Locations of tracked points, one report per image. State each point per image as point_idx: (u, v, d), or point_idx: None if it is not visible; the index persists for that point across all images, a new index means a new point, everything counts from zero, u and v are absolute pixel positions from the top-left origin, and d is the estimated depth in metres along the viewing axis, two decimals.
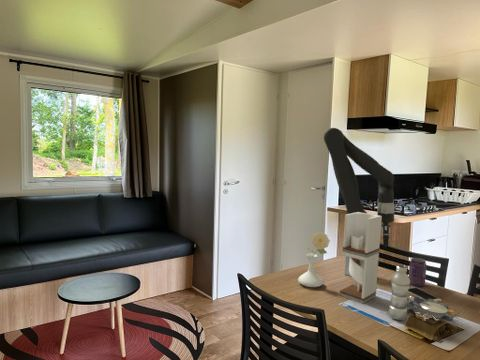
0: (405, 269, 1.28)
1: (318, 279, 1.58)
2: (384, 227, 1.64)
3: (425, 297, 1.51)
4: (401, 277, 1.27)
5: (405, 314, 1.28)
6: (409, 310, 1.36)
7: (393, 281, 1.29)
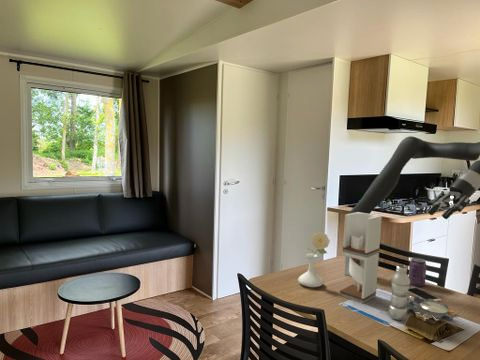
0: (405, 269, 1.28)
1: (318, 279, 1.58)
2: (466, 197, 1.25)
3: (425, 297, 1.51)
4: (401, 277, 1.27)
5: (405, 314, 1.28)
6: (409, 310, 1.36)
7: (393, 281, 1.29)
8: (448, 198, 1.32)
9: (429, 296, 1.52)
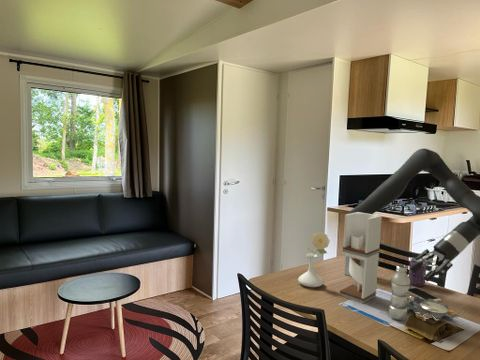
0: (405, 269, 1.28)
1: (318, 279, 1.58)
2: (448, 262, 1.23)
3: (425, 297, 1.51)
4: (401, 277, 1.27)
5: (405, 314, 1.28)
6: (409, 310, 1.36)
7: (393, 281, 1.29)
8: (431, 258, 1.30)
9: (429, 296, 1.52)
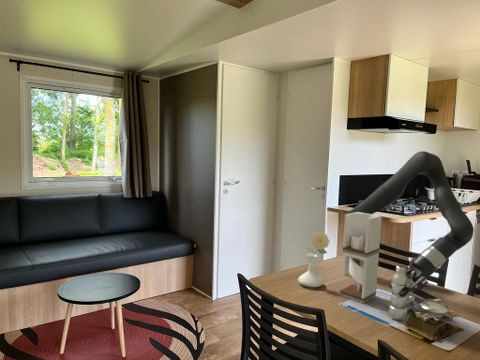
0: (405, 269, 1.28)
1: (318, 279, 1.58)
2: (424, 279, 1.23)
3: (425, 297, 1.51)
4: (401, 277, 1.27)
5: (405, 314, 1.28)
6: (409, 310, 1.36)
7: (393, 281, 1.29)
8: (409, 274, 1.30)
9: (429, 296, 1.52)
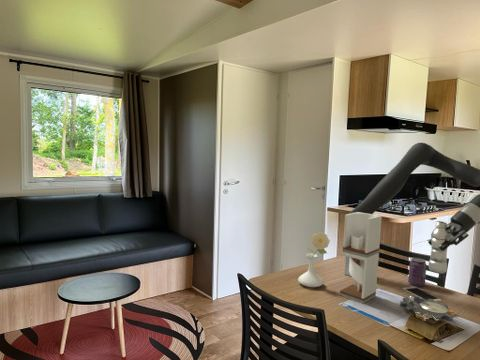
0: (445, 224, 1.33)
1: (318, 279, 1.58)
2: (464, 232, 1.29)
3: (425, 297, 1.51)
4: (441, 231, 1.33)
5: (445, 267, 1.34)
6: (409, 310, 1.36)
7: (433, 236, 1.35)
8: (448, 229, 1.36)
9: (429, 296, 1.52)
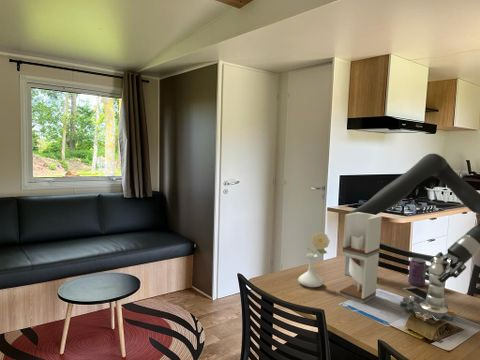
0: (442, 260, 1.35)
1: (318, 279, 1.58)
2: (462, 264, 1.30)
3: (425, 297, 1.51)
4: (439, 267, 1.34)
5: (443, 303, 1.35)
6: (409, 310, 1.36)
7: (431, 271, 1.36)
8: (445, 261, 1.37)
9: None
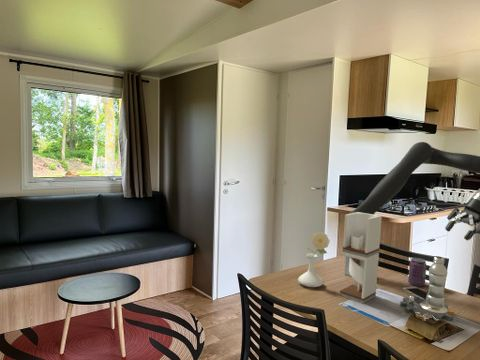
0: (443, 260, 1.34)
1: (318, 279, 1.58)
2: None
3: (424, 297, 1.51)
4: (439, 267, 1.34)
5: (443, 303, 1.35)
6: (409, 310, 1.36)
7: (431, 271, 1.36)
8: (466, 217, 1.41)
9: None
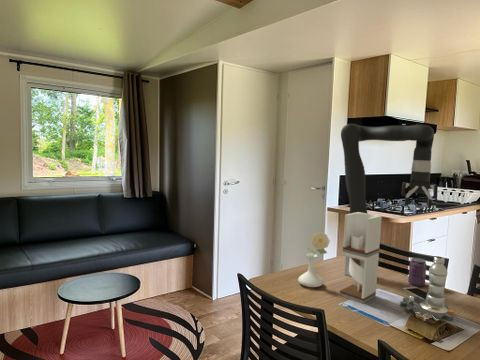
0: (443, 260, 1.34)
1: (318, 279, 1.58)
2: None
3: (424, 297, 1.51)
4: (439, 267, 1.34)
5: (443, 303, 1.35)
6: (409, 310, 1.36)
7: (431, 271, 1.36)
8: (418, 189, 1.55)
9: None
